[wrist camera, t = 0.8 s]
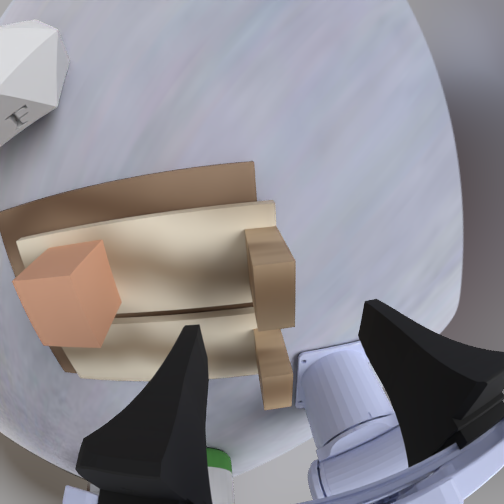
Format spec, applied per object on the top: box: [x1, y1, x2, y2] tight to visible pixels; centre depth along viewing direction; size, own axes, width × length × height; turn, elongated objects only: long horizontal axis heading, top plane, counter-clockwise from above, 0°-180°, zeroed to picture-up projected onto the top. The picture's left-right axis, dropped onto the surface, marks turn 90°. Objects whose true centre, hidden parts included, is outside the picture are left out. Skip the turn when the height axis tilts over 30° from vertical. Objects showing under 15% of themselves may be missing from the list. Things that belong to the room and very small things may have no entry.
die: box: [0, 19, 70, 147], centre depth 9 cm, size 8×9×10 cm
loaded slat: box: [16, 200, 295, 332], centre depth 16 cm, size 7×20×6 cm, turn 94°
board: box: [0, 161, 257, 373], centre depth 20 cm, size 18×22×1 cm
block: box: [12, 240, 122, 348], centre depth 15 cm, size 5×5×5 cm
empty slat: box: [62, 307, 293, 410], centre depth 19 cm, size 7×20×6 cm, turn 94°
